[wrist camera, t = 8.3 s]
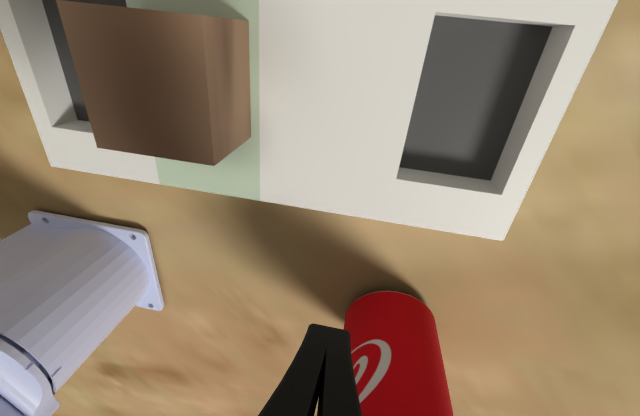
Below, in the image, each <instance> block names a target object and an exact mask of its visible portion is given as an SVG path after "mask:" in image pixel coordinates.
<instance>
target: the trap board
mask: <svg viewBox="0 0 640 416" xmlns="http://www.w3.org/2000/svg"><path fill="white" fill-rule="evenodd" d="M63 1H72V2H82V3H91V4H101V5H110V6H120V7H129V8H139V9H148V10H158V11H167V12H177V13H186V14H196V15H205V16H213V17H221V18H229V19H238V20H246V21H249V57H250V107H251V138H249V139H248V140H247V141H246V142H244V143H243V144H242V145H240V146H239V147H238V148H237V149H235V150H234V151H233V152H232V153H230V154H229V155H228V156H226V157H225V158H224V159H223V160H221V161H220V162H219V163H218V164H216V165H215V166H210V165H204V164H197V163H191V162H185V161H178V160H172V159H166V158H159V157H153V156H146V155H140V154H134V153H127V152H121V151H114V150H108V149H102V148H97V146H96V142H95V138H94V135H93V131H92V128H91V124H90V121H89V117H88V113H87V110H86V106H85V103H84V99H83V95H82V92H81V88H80V85H79V81H78V78H77V74H76V70H75V67H74V63H73V60H72V56H71V52H70V49H69V45H68V42H67V38H66V35H65V31H64V27H63V24H62V20H61V17H60V13H59V9H58V6H57V2H56V0H0V29H1V32H2V35H3V37H4V40H5V43H6V45H7V48H8V51H9V54H10V56H11V59H12V62H13V64H14V67H15V70H16V73H17V75H18V78H19V81H20V83H21V86H22V89H23V92H24V94H25V97H26V100H27V102H28V105H29V108H30V111H31V113H32V116H33V119H34V121H35V124H36V127H37V130H38V132H39V135H40V138H41V140H42V143H43V146H44V149H45V151H46V154H47V157H48V159H49V162H50V165H51V166H52V167H58V168H64V169H70V170H77V171H83V172H89V173H95V174H101V175H107V176H113V177H119V178H125V179H131V180H137V181H143V182H149V183H155V184H161V185H167V186H173V187H179V188H185V189H191V190H197V191H204V192H210V193H216V194H222V195H228V196H234V197H240V198H246V199H252V200H258V201H264V202H270V203H276V204H282V205H288V206H294V207H300V208H306V209H312V210H318V211H325V212H331V213H337V214H343V215H349V216H355V217H361V218H367V219H373V220H379V221H385V222H391V223H397V224H403V225H409V226H415V227H421V228H427V229H433V230H439V231H445V232H452V233H458V234H464V235H470V236H476V237H482V238H488V239H494V240H500V241H503V240H504V238H505V236H506V234H507V232H508V230H509V228H510V226H511V224H512V221H513V219H514V217H515V215H516V213H517V211H518V209H519V207H520V205H521V203H522V201H523V198H524V196H525V194H526V192H527V190H528V188H529V186H530V184H531V182H532V180H533V178H534V175H535V173H536V171H537V169H538V167H539V165H540V163H541V161H542V159H543V157H544V155H545V152H546V150H547V148H548V146H549V144H550V142H551V140H552V138H553V136H554V134H555V132H556V129H557V127H558V125H559V123H560V121H561V119H562V117H563V115H564V113H565V111H566V109H567V106H568V104H569V102H570V100H571V98H572V96H573V94H574V92H575V90H576V88H577V86H578V83H579V81H580V79H581V77H582V75H583V73H584V71H585V69H586V67H587V65H588V62H589V60H590V58H591V56H592V54H593V52H594V50H595V48H596V46H597V44H598V42H599V39H600V37H601V35H602V33H603V31H604V29H605V27H606V25H607V23H608V21H609V19H610V16H611V14H612V12H613V10H614V8H615V6H616V4H617V2H618V0H63Z"/></svg>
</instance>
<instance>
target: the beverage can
mask: <svg viewBox="0 0 640 416" xmlns="http://www.w3.org/2000/svg"><path fill="white" fill-rule="evenodd" d="M344 330H347V331H349V333H350V342H351V355H352V363H353V370H354V377H355V382H356V387H357V392H358V397H359V402H360V407H361V411H362V415H363V416H453V411H452V405H451V400H450V395H449V390H448V385H447V380H446V375H445V370H444V365H443V360H442V354H441V349H440V344H439V339H438V334H437V329H436V324H435V319H434V316H433V314H432V312H431V311H430V309H429V308H428V307H427V306H426V305H425V304H424V303H423V302H421V301H420V300H418V299H417V298H415V297H413V296H411V295H408V294H405V293H401V292H397V291H377V292H372V293H369V294H366V295H364V296H361V297H360V298H358V299H357V300H355V301H354V302H353V303H352V304H351V305H350V306H349V308H348V310H347V312H346V315H345V323H344Z"/></svg>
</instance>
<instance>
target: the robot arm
mask: <svg viewBox="0 0 640 416" xmlns="http://www.w3.org/2000/svg"><path fill="white" fill-rule="evenodd" d="M28 218H29V221H30V223H31V224H30V225H28V226H26V227H24V228H22V229H21V230H19V231H17V232H15V233H13V234H11V235H9V236H8V237H6V238H4V239H2V240H0V416H51V415H52V414H53V413H54V412H55V411H56V409H57V408H58V407H59V406H60V402H59V401H58V400H57V399H56V398H55V397H54V394H55V393H56V392H57V391H58V390H59V389H60V388H61V387H62V385H63V384H64V383H65V382H66V381H67V380H68V379H69V378H70V377H71V376H72V374H73V373H74V372H75V371H76V370H77V369H78V368H79V367H80V366H81V365H82V363H83V362H84V361H85V360H86V359H87V358H88V357H89V356H90V355H91V354H92V352H93V351H94V350H95V349H96V348H97V347H98V346H99V345H100V344H101V342H102V341H103V340H104V339H105V338H106V337H107V336H108V335H109V334H110V333H111V331H112V330H113V329H114V328H115V327H116V326H117V325H118V324H119V323H120V322H121V320H122V319H123V318H124V317H125V316H126V315H127V314H128V313H129V312H130V311H131V309H132V308H133V307H134V306H137V307H142V308H147V309H152V310H157V311H160V310H162V308H163V307H164V302H163V297H162V293H161V288H160V284H159V279H158V275H157V271H156V266H155V262H154V257H153V253H152V249H151V244H150V240H149V236H148V234H147V233H146V232H145V231H144V230H141V229H135V228H130V227H124V226H119V225H113V224H108V223H102V222H97V221H91V220H86V219H81V218H75V217H70V216H64V215H59V214H53V213H48V212H42V211H37V210H33V211H31V212H29V213H28ZM318 397H319V400H318ZM317 401H318V412H317V416H363V415H362V411H361V407H360V402H359V397H358V392H357V387H356V382H355V377H354V370H353V363H352V355H351V342H350V333H349V331H347V330H342V329H337V328H332V327H327V326H323V325H318V324H311V325H309V327H308V330H307V333H306V335H305V338H304V340H303V342H302V344H301V346H300V348H299V350H298V352H297V354H296V356H295V358H294V360H293V362H292V363H291V365H290V367H289V368H288V370H287V372H286V374H285V375H284V377H283V379H282V380H281V382H280V384H279V385H278V387H277V388H276V390H275V391H274V393H273V394H272V396H271V397H270V399H269V400H268V402H267V403H266V405H265V406H264V408H263V409H262V411H261V412H260V414H259V415H258V416H314V413H315V409H316V405H317Z"/></svg>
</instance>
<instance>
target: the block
mask: <svg viewBox="0 0 640 416" xmlns="http://www.w3.org/2000/svg"><path fill="white" fill-rule="evenodd" d="M56 2H57V6H58V9H59V13H60V17H61V20H62V24H63V27H64V31H65V35H66V38H67V42H68V45H69V49H70V52H71V56H72V60H73V63H74V67H75V70H76V74H77V78H78V81H79V85H80V88H81V92H82V95H83V99H84V103H85V106H86V110H87V113H88V117H89V121H90V124H91V128H92V131H93V135H94V138H95V142H96V146H97V148H102V149H108V150H114V151H121V152H127V153H134V154H140V155H146V156H153V157H159V158H166V159H172V160H178V161H185V162H191V163H197V164H204V165H210V166H215V165H216V164H218V163H219V162H220V161H221V160H223V159H224V158H225V157H226V156H228V155H229V154H230V153H232V152H233V151H234V150H235V149H237V148H238V147H239V146H240V145H242V144H243V143H244V142H246V141H247V140H248V139H249V138H251V107H250V57H249V21H246V20H238V19H229V18H221V17H213V16H205V15H196V14H186V13H177V12H167V11H158V10H148V9H139V8H129V7H120V6H110V5H101V4H91V3H82V2H72V1H63V0H56Z"/></svg>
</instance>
